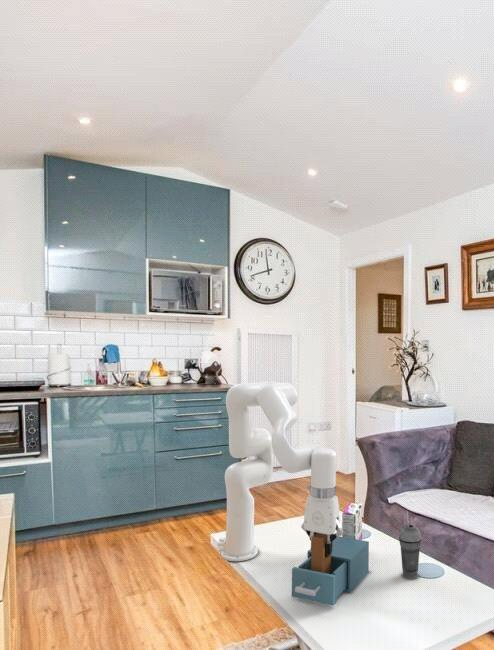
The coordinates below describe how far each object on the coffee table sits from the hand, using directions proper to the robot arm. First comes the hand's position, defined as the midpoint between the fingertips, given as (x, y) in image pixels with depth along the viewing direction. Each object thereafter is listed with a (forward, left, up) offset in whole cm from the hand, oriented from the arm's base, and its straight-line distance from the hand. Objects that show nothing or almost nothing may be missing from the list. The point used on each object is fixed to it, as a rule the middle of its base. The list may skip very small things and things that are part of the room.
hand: (321, 553), depth 145 cm
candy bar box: (-2, +27, -12) cm, 30 cm away
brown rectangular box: (0, 0, -6) cm, 6 cm away
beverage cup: (+21, +21, -12) cm, 32 cm away
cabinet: (0, +11, -11) cm, 16 cm away
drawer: (0, -2, -11) cm, 11 cm away
